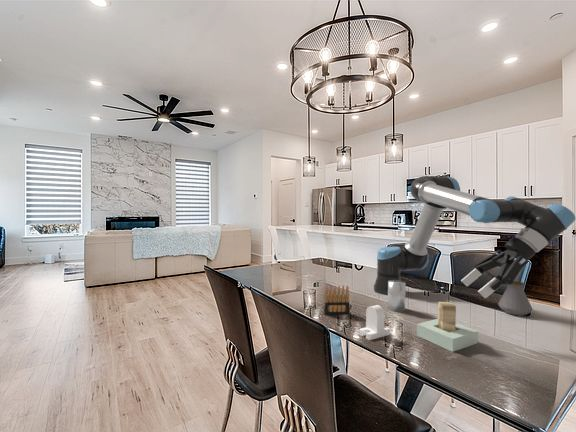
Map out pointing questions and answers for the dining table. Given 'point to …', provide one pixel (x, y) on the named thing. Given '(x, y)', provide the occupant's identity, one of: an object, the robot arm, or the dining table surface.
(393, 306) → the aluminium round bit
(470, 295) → the dining table surface
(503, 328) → the dining table surface
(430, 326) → the socket block
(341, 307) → the ammunition clip
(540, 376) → the dining table surface
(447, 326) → the oak square bit
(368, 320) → the cable organizer
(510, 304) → the coffee pot
